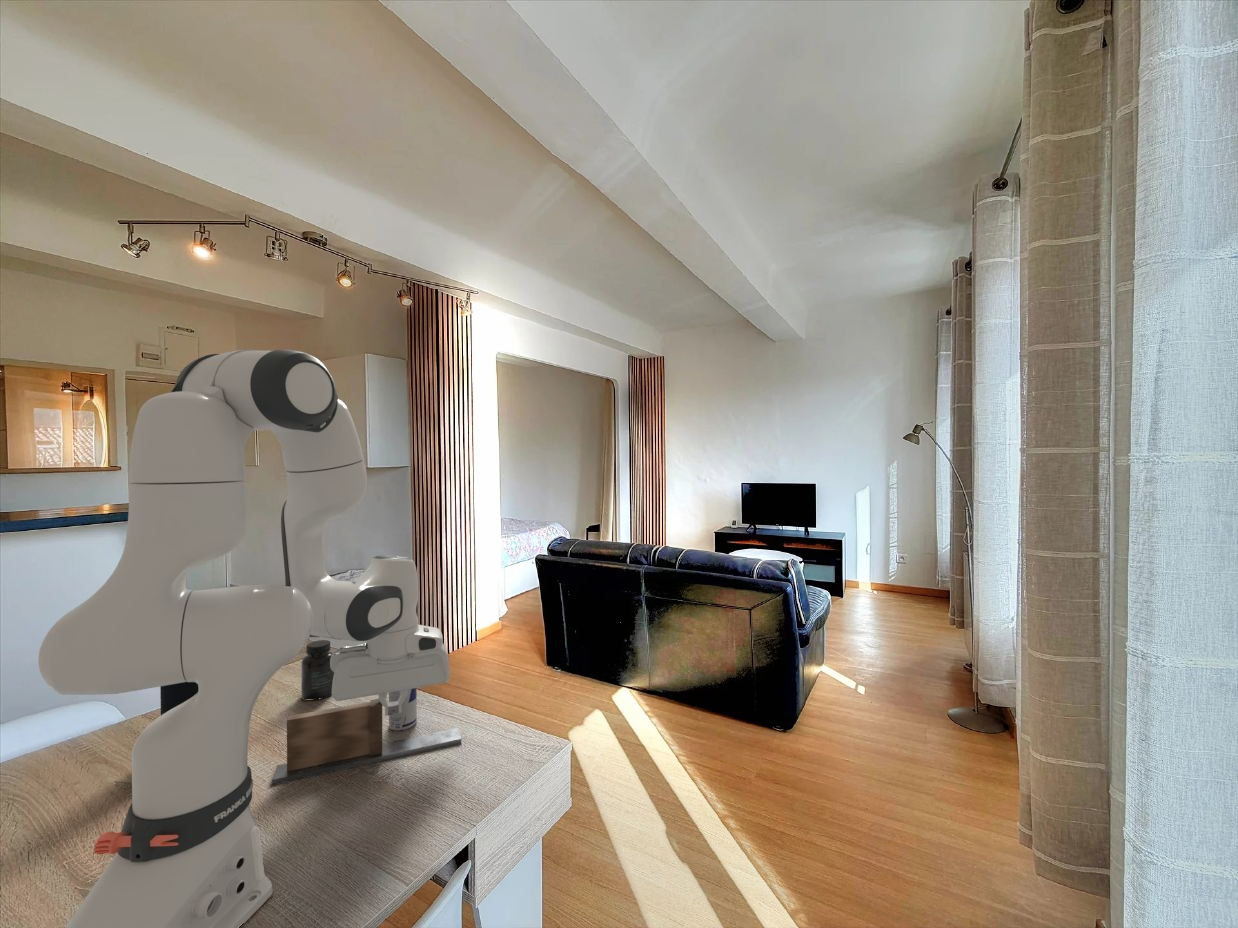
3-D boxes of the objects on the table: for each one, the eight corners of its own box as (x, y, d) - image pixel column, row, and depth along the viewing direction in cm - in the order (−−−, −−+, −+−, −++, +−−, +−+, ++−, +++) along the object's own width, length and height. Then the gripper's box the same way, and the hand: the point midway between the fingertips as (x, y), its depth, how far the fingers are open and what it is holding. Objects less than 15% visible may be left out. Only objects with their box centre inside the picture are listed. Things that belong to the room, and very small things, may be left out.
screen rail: (458, 731, 102) (458, 727, 102) (461, 743, 98) (461, 738, 98) (277, 770, 89) (277, 765, 89) (271, 784, 85) (271, 779, 85)
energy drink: (421, 718, 107) (421, 662, 107) (408, 732, 102) (408, 673, 101) (397, 717, 107) (397, 661, 107) (383, 730, 102) (383, 672, 102)
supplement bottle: (302, 691, 119) (302, 641, 119) (335, 685, 122) (335, 636, 122) (300, 703, 113) (299, 651, 113) (334, 697, 116) (334, 645, 116)
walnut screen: (382, 744, 95) (382, 697, 95) (382, 753, 93) (381, 704, 92) (289, 764, 89) (289, 714, 89) (286, 773, 86) (286, 722, 86)
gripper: (327, 654, 87) (328, 733, 87) (450, 638, 96) (450, 709, 96) (332, 642, 93) (332, 716, 93) (447, 627, 101) (447, 695, 101)
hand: (393, 712), depth 95 cm, fingers closed
